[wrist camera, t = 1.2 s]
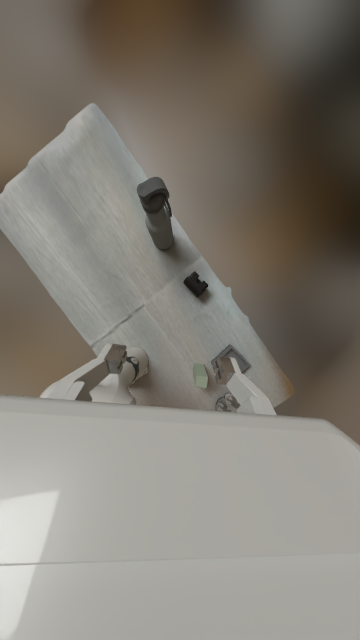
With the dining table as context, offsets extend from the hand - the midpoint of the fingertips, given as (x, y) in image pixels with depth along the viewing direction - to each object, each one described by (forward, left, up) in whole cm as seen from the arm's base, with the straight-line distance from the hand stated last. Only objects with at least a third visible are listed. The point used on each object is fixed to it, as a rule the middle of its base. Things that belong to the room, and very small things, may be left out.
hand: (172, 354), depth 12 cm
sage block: (-13, -26, -56) cm, 63 cm away
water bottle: (+21, +33, -56) cm, 69 cm away
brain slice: (-15, -52, -56) cm, 79 cm away
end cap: (+16, +6, -56) cm, 59 cm away
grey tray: (+1, -35, -56) cm, 66 cm away
